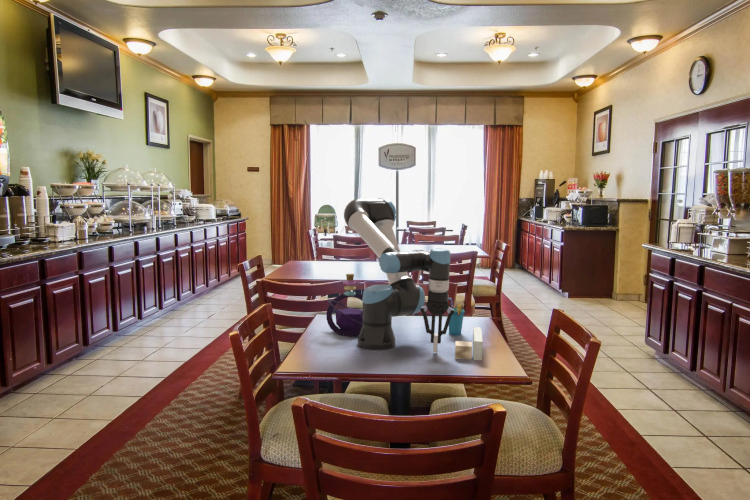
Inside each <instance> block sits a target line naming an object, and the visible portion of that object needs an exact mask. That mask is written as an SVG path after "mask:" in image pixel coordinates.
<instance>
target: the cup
mask: <svg viewBox="0 0 750 500" xmlns="http://www.w3.org/2000/svg"><path fill="white" fill-rule="evenodd" d="M449 300H450V306H451V307H450V308H452V309H454V314H453V315H452V316H451V319H450V322H449V325H448V333H449V335H452V336H461V335H462V330H463V323H464V322H463V320H464V314H465V313H466V310H464V308H462V305H461V303H457V306H456V307H454V302H453V299H452V297H448V301H449ZM446 312H447V313H448V309H447V311H446Z"/></svg>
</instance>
